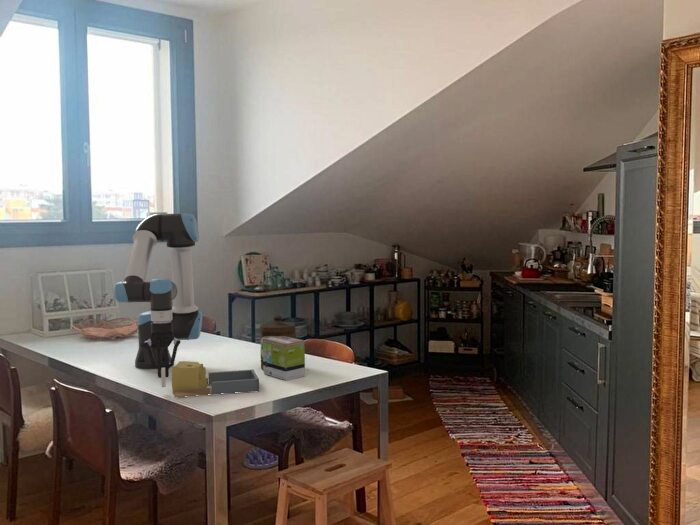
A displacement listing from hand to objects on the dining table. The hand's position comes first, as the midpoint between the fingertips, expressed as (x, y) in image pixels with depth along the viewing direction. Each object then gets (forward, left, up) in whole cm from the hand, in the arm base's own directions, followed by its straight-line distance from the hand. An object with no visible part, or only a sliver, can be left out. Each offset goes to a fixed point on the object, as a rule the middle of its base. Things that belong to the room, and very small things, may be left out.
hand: (163, 386), depth 255 cm
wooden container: (-27, +46, -3) cm, 54 cm away
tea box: (-13, +46, -3) cm, 48 cm away
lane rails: (0, +10, -3) cm, 10 cm away
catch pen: (0, +25, -3) cm, 25 cm away
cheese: (0, +9, -3) cm, 9 cm away
